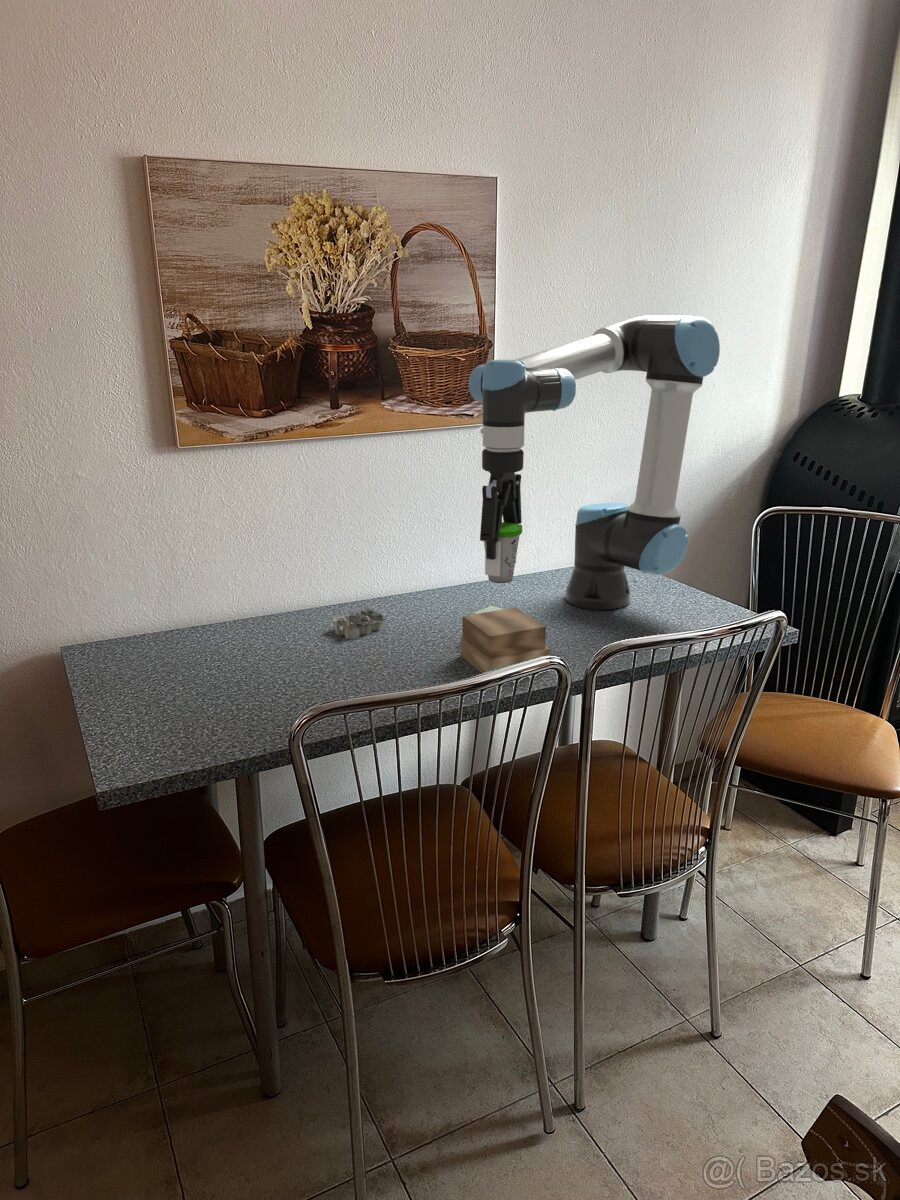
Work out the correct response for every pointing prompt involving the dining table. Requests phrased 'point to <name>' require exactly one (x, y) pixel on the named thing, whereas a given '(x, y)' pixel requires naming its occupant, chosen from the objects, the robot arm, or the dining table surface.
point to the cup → (507, 551)
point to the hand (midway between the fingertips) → (500, 568)
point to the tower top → (504, 632)
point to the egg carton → (358, 623)
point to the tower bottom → (487, 664)
